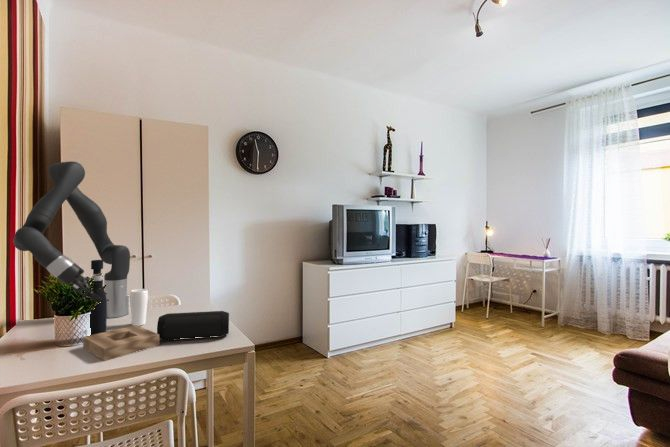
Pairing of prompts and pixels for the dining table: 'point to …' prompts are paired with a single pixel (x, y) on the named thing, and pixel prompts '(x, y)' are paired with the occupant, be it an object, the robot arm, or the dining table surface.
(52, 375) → the dining table surface
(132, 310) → the drinking glass
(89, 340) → the walnut jig
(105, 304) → the black bottle
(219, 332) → the portable speaker
